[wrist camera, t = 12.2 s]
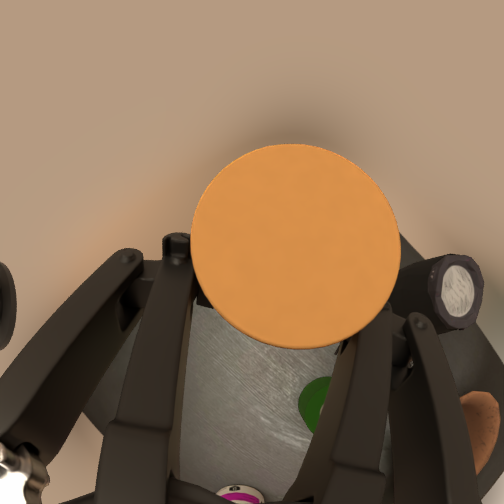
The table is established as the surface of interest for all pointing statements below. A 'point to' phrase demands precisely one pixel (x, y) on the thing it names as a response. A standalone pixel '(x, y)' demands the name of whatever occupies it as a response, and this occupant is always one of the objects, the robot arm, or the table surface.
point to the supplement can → (241, 494)
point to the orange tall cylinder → (295, 246)
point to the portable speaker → (440, 291)
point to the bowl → (481, 424)
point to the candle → (313, 401)
